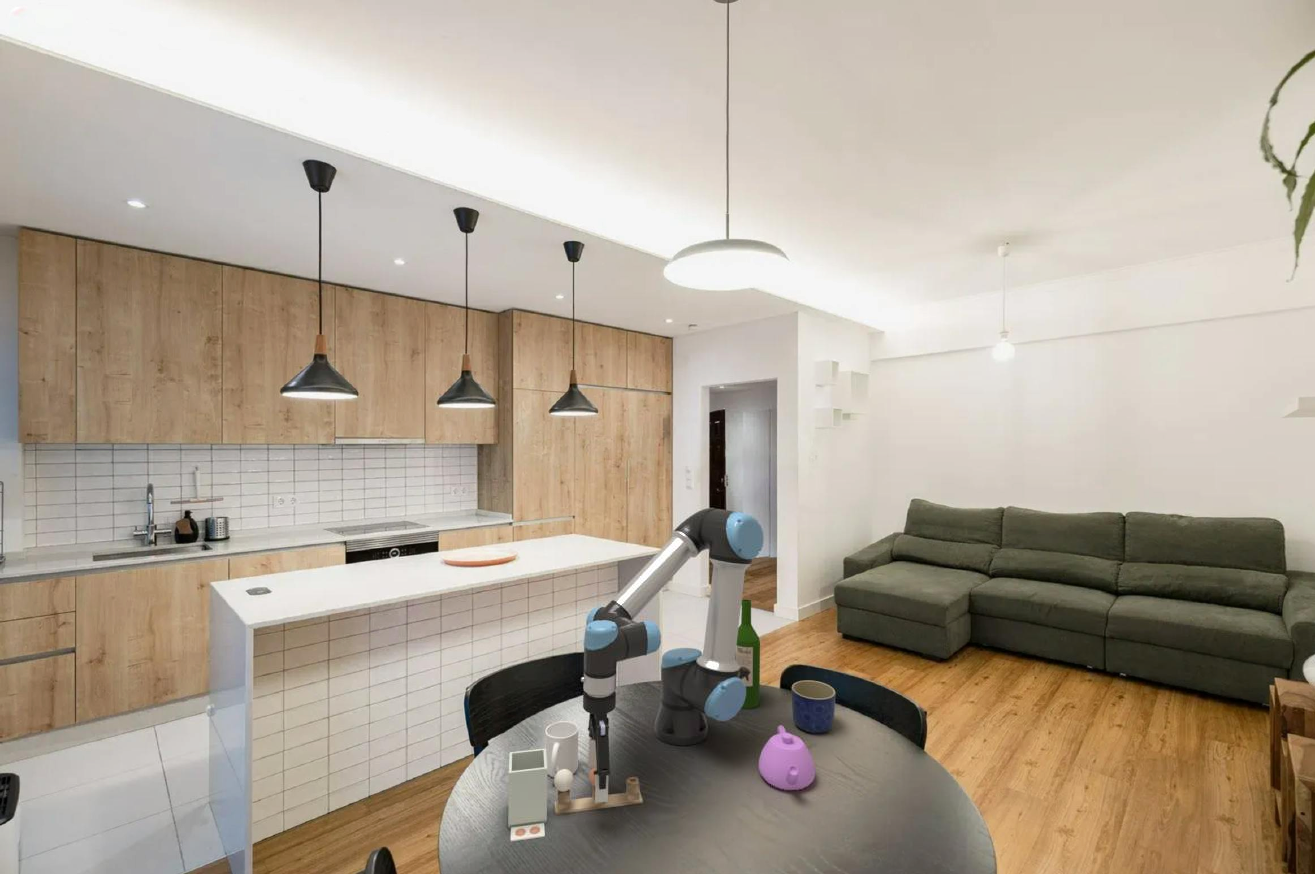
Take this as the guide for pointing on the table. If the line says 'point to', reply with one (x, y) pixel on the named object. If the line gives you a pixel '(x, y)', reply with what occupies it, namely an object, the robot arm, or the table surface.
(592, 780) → the ball
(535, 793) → the grey-green tall hollow box
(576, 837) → the table surface
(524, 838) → the card
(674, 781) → the table surface
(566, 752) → the mug
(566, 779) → the ball
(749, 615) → the wine bottle
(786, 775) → the teapot
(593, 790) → the rack
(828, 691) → the planter
